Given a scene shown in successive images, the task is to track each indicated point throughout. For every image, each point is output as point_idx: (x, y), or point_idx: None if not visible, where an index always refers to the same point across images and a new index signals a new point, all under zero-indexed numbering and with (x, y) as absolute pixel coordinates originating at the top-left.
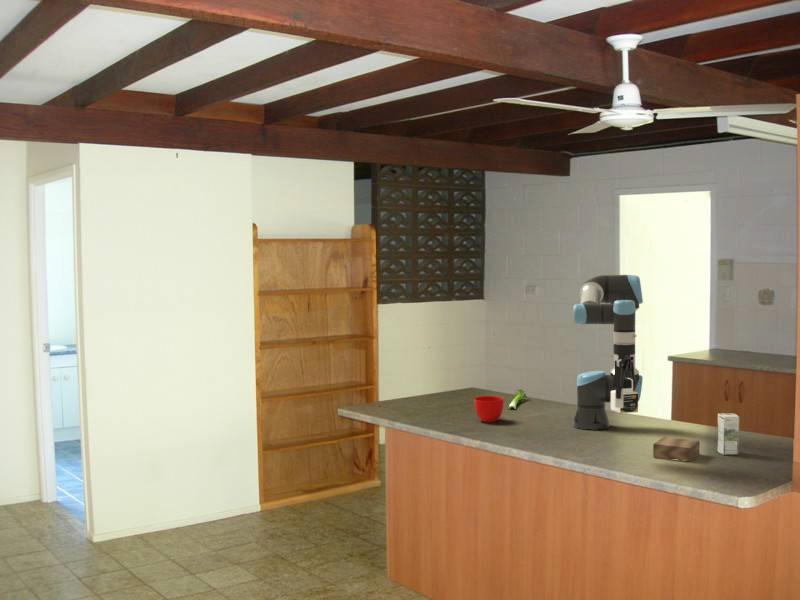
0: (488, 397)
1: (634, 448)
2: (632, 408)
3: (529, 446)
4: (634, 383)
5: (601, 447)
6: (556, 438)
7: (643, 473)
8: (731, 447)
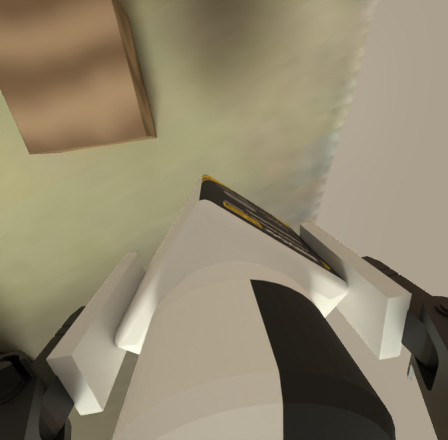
0: None
1: (106, 220)
2: (237, 196)
3: None
4: (6, 373)
5: None
6: None
7: (321, 81)
8: None
